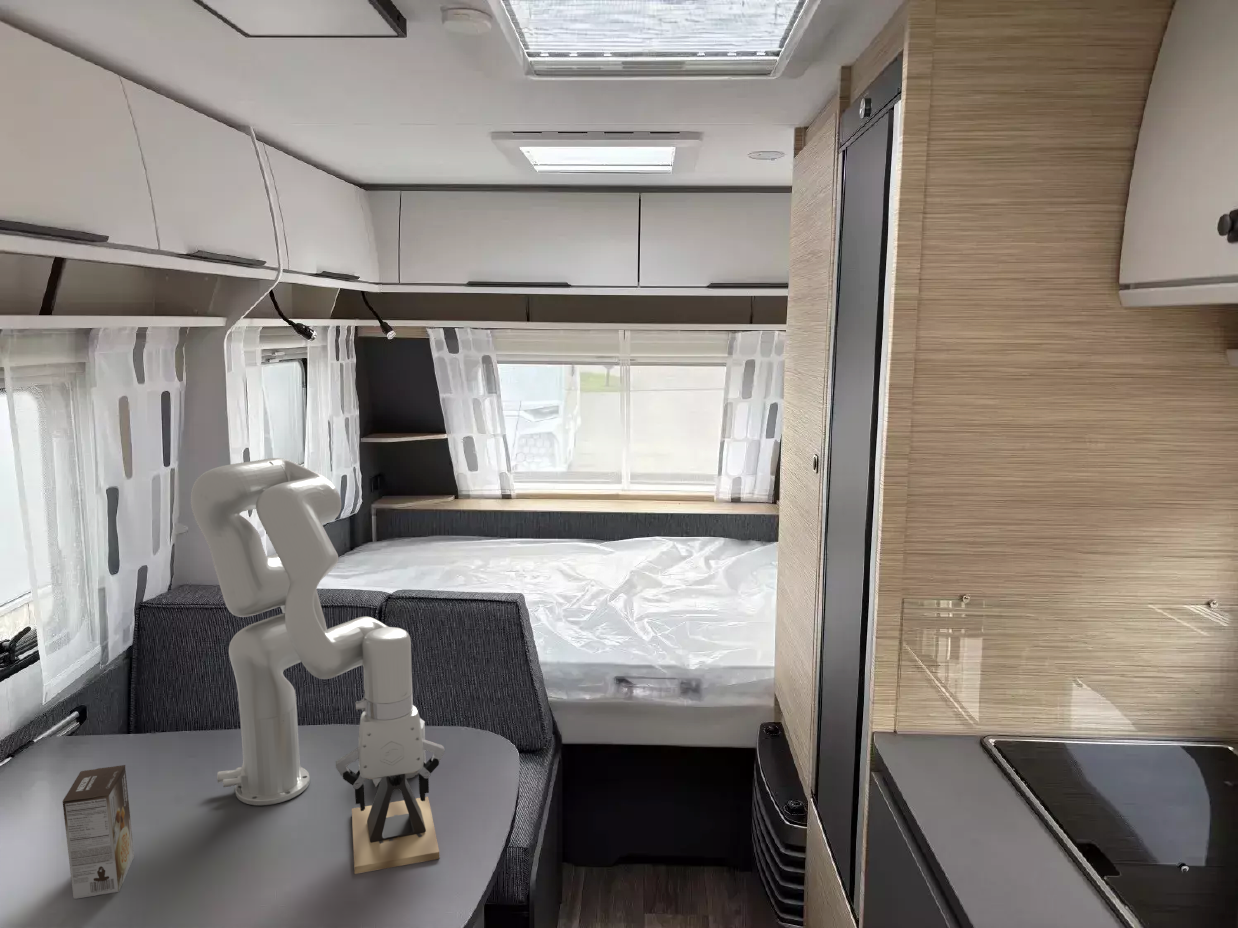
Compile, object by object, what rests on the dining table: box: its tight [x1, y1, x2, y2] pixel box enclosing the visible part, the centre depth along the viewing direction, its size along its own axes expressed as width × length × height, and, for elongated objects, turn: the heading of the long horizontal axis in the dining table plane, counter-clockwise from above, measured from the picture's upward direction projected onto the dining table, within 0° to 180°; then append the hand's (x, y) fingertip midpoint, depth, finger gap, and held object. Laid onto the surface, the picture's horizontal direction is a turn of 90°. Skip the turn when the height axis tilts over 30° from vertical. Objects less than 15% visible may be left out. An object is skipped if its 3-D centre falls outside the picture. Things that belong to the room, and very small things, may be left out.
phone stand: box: [367, 774, 426, 843], centre depth 144 cm, size 9×6×12 cm, turn 110°
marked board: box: [351, 796, 441, 875], centre depth 145 cm, size 13×17×1 cm
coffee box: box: [61, 764, 135, 900], centre depth 132 cm, size 9×6×16 cm
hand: (392, 801), depth 144 cm, fingers open, 9 cm apart
